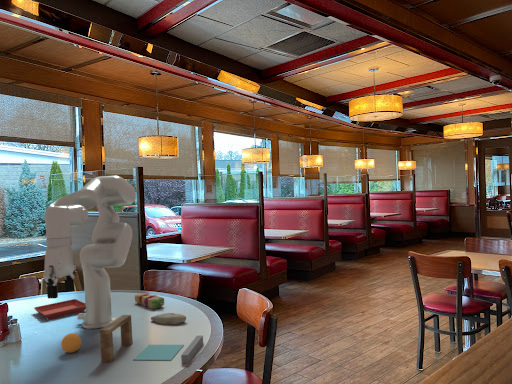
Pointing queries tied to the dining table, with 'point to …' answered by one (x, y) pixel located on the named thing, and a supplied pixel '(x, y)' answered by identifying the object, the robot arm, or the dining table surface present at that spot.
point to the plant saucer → (61, 309)
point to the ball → (71, 342)
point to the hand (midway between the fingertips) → (61, 294)
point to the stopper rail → (191, 349)
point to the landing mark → (159, 352)
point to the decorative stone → (169, 318)
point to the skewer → (149, 300)
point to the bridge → (107, 336)
